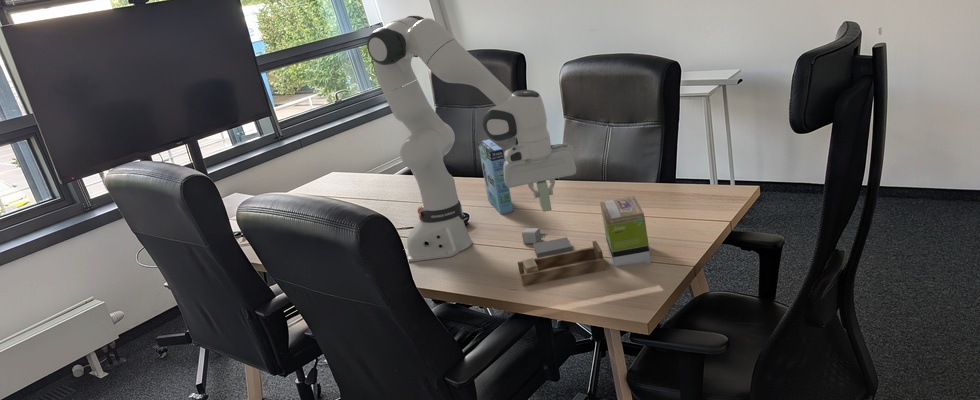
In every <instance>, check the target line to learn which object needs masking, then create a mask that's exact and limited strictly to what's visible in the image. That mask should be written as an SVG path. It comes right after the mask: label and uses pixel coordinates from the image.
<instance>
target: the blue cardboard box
mask: <svg viewBox="0 0 980 400" xmlns="http://www.w3.org/2000/svg"><path fill="white" fill-rule="evenodd" d="M477 145H478V146H477V147H478V150H479V157H480V162H481V163H480V164H481V168H482V173H483V180H484V184H485V190H486V195H487V200H488V202H489V203H490V204H491V205H492V206H493V208H494V209H496V211H497V212H498V213H499V214H500V215H501V214H502V215H505V213H506V214H509V212H510V213H512V212H513V213H514V207H513V203H512V197H511V196H512V195H511V190H510V188H508V187H507V186H506V185H505V181H504V172H503V166H504V162H505V161H506V160H505V157H504V149H503V148H502V147H500V146H499V145H498V144H497V143H495V142H494V140H492V139H491V138H490V139H489V138H488V139H484V140H480V141H477Z"/></svg>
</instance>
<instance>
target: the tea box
mask: <svg viewBox="0 0 980 400" xmlns="http://www.w3.org/2000/svg"><path fill="white" fill-rule="evenodd" d="M600 208H601V217H602V222H603V227H604V228H603V229H604V233H605V234H604V235H605V239H606V244H607V245H606V246H607V250H608V252H609V256H610V258H611V261H612V264H613V266H614V267H619V266H625V265H631V264H637V263H643V265H649V264H651V263H652V259H651V253H650V245H649V240H648V239H649V238H648V233H647V232H648V231H647V225H646V218H645V213H644V211H643V210H642V208H641V206H640V204H639V203H638V200H637V198H636V197H635V195H634V196H627V197H621V198H617V199H611V200H606V201H605V200H604V201H600Z"/></svg>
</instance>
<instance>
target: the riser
mask: <svg viewBox="0 0 980 400" xmlns="http://www.w3.org/2000/svg"><path fill="white" fill-rule="evenodd" d="M533 250H534V253H535V256H536V258H540V257H545V256H550V255H555V254H560V253H565V252H570V251H573V246H572V244H571V242H570V241H569V239H568V237H567V236H566V237H561V238H557V239H551V240H547V241H540V242H539V243H535V244H533Z"/></svg>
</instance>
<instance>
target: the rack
mask: <svg viewBox="0 0 980 400" xmlns="http://www.w3.org/2000/svg"><path fill="white" fill-rule="evenodd" d="M533 259H534V261H535V262H536V264H537V266H538V271H535V272H530V273H524V268H523V261H522V260H521V261H517V266H518V267H517V268H518V273H519V275H520V279H521V283H522V286H523V287H528V286H533V285H537V284H542V283H547V282H553V281H557V280H561V279H567V278H572V277H577V276H582V275H587V274H592V273H598V272H602V271H603V272H604V271H606V263H605V259H604V255H603V250H602V248H601V246H600V245H599V244H598V242H597V241H596V240H594V241H593V240H592V247H586V248H581V249H575V250H572V251H570V252H565V253H560V254H555V255H550V256H545V257H540V258H537V257H536V258H533Z"/></svg>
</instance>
